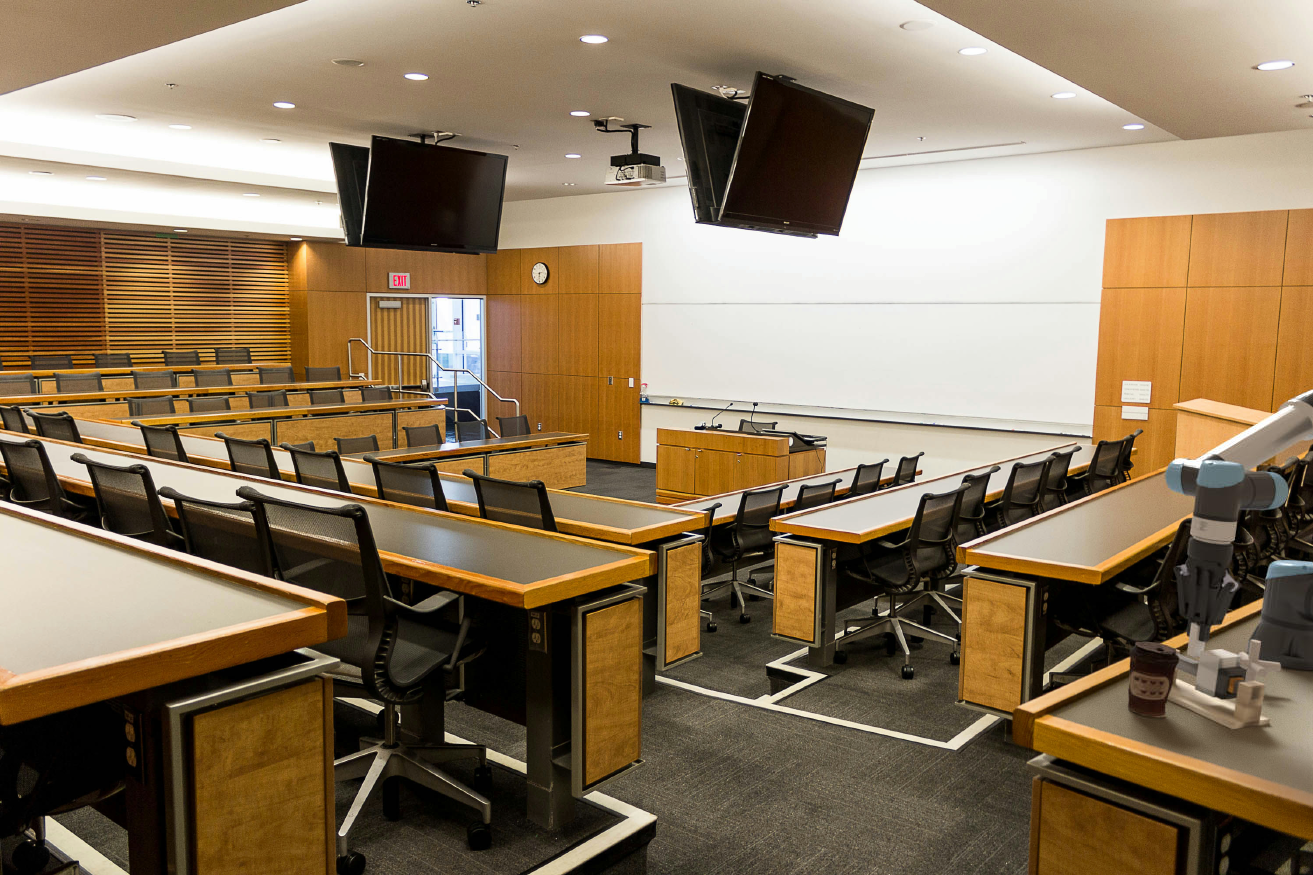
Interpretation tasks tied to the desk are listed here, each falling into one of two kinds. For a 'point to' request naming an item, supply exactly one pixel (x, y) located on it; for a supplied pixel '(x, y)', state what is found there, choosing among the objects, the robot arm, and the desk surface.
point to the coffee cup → (1151, 677)
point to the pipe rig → (1215, 708)
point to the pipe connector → (1256, 662)
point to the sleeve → (1213, 668)
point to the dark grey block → (1223, 681)
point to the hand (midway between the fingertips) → (1195, 654)
